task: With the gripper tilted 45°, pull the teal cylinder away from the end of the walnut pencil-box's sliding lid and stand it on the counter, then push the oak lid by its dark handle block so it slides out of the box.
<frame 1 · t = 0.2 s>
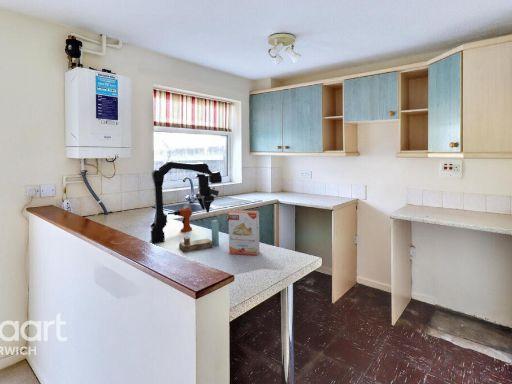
hand: (205, 211, 189), 14 cm above the countertop, tool pointing down, fingers open, 9 cm apart
teal cylinder: (215, 244, 172), on the countertop
cracker box: (244, 253, 158), on the countertop
lid: (196, 239, 167), point 4 cm above the countertop, slide at 0.0 cm
toy drill: (180, 232, 198), on the countertop
toolbox: (195, 247, 167), on the countertop
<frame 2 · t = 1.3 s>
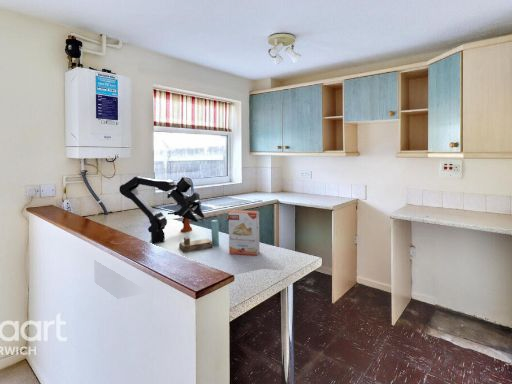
hand: (200, 219, 172), 13 cm above the countertop, tool tilted 45°, fingers open, 9 cm apart
nothing on the countertop moved.
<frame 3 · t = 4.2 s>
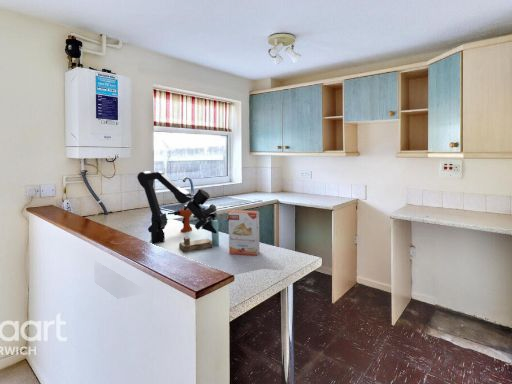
hand: (217, 231, 171), 7 cm above the countertop, tool tilted 45°, fingers closed on teal cylinder, 4 cm apart
teal cylinder: (215, 244, 172), on the countertop, touching gripper
everything else where it was.
when the fingers open (8 cm above the countertop, at t = 7.1 s): teal cylinder stays where it is, on the countertop.
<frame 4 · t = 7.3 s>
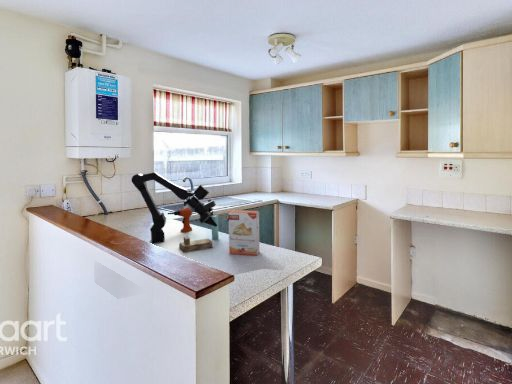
hand: (217, 224, 182), 8 cm above the countertop, tool tilted 45°, fingers open, 6 cm apart
teal cylinder: (215, 238, 183), on the countertop
everything else where it was.
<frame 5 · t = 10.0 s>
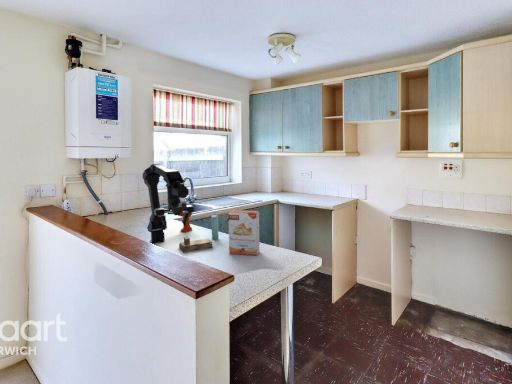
hand: (175, 227, 161), 12 cm above the countertop, tool pointing down, fingers open, 9 cm apart
nothing on the countertop moved.
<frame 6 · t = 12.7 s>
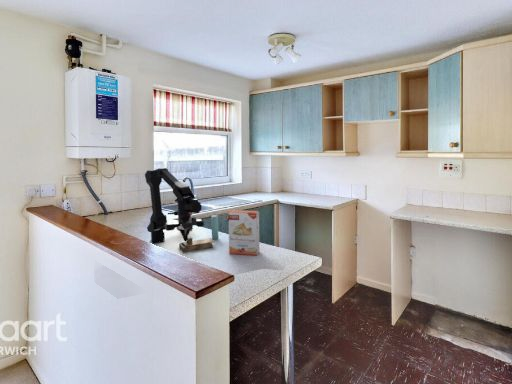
hand: (185, 241, 164), 4 cm above the countertop, tool pointing down, fingers closed
lid: (198, 239, 167), point 4 cm above the countertop, slide at 1.3 cm, touching gripper
everything else where it was.
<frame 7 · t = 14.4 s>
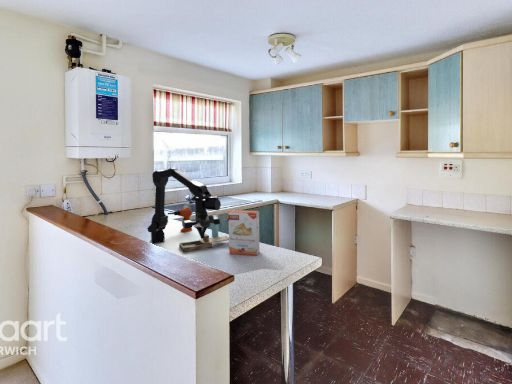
hand: (202, 238, 168), 4 cm above the countertop, tool pointing down, fingers closed
lid: (214, 237, 171), point 4 cm above the countertop, slide at 10.1 cm, touching gripper
everything else where it was.
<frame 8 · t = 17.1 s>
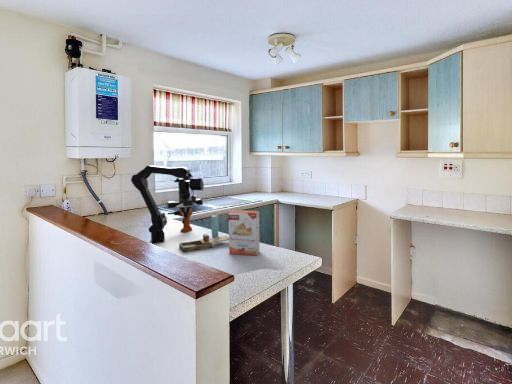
hand: (185, 218, 176), 13 cm above the countertop, tool pointing down, fingers closed
lid: (214, 237, 171), point 4 cm above the countertop, slide at 10.1 cm
everything else where it was.
at the end: lid slide at 10.1 cm; teal cylinder inside the target area (0.7 cm from its centre), on the countertop; the gripper is holding nothing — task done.
